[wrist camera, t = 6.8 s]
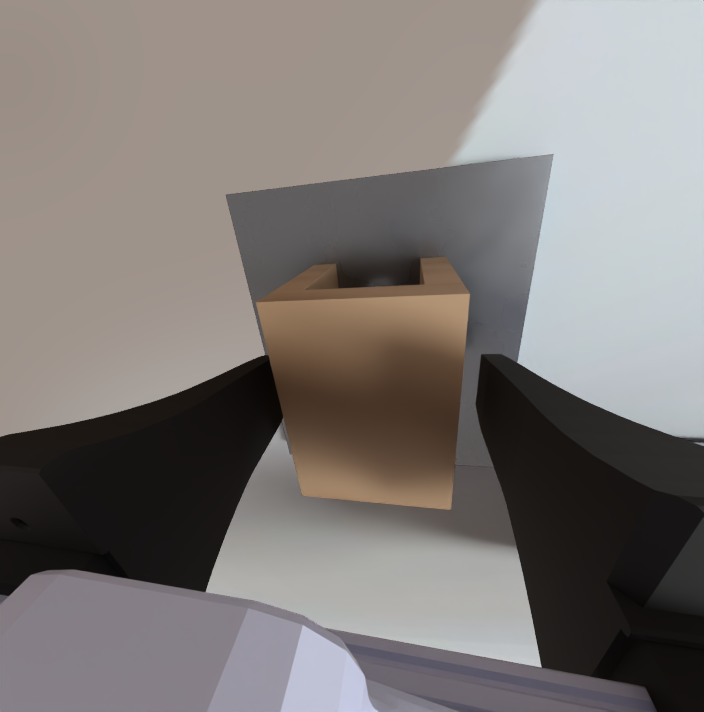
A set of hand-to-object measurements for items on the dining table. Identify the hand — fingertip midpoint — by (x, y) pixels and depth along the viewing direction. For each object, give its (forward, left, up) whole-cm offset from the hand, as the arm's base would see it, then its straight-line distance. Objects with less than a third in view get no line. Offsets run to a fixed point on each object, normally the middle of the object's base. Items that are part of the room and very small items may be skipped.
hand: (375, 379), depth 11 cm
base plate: (0, 0, -3) cm, 3 cm away
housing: (0, 0, -2) cm, 2 cm away
